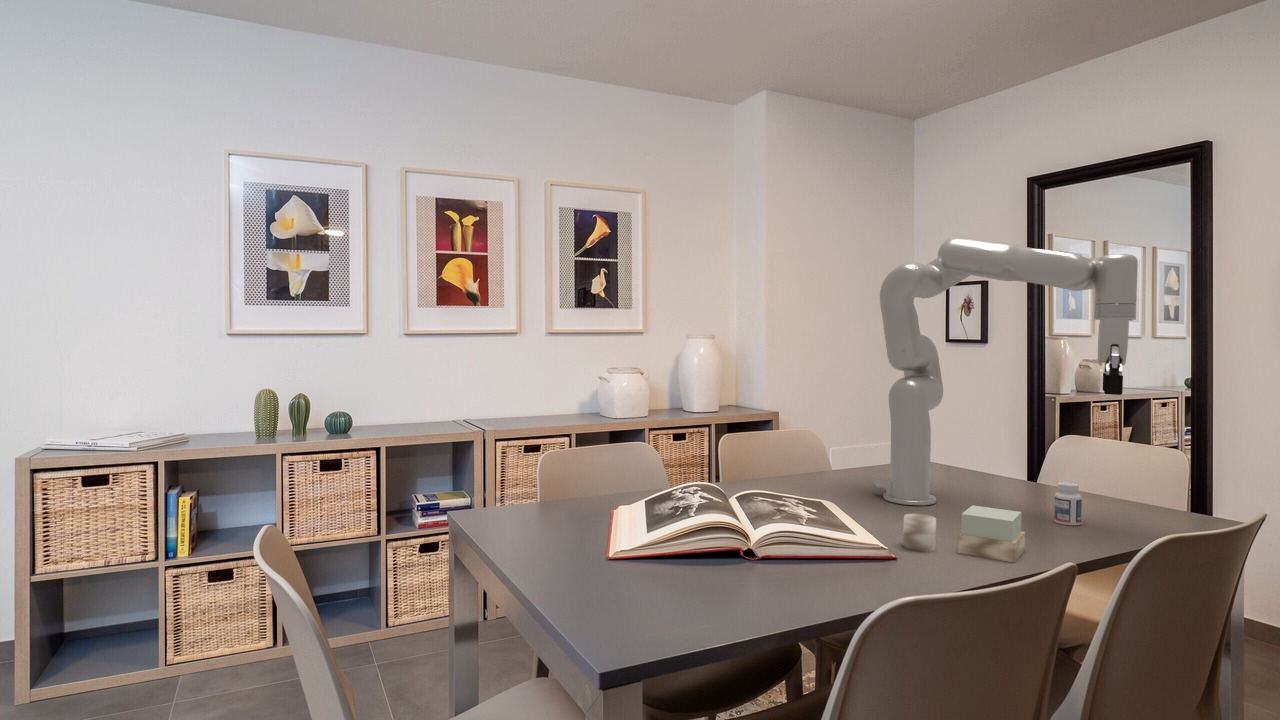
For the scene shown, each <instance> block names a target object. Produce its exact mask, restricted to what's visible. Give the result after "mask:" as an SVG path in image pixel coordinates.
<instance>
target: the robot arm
mask: <svg viewBox="0 0 1280 720" xmlns="http://www.w3.org/2000/svg"><path fill="white" fill-rule="evenodd" d="M1138 266H1139V264H1138V257H1136V256H1135V255H1133V254H1128V253H1127V254H1124V253H1123V254H1121V253H1119V254H1106V255H1101V256H1099V257H1096V258H1095V257H1084V256H1083V255H1079V254H1076V253H1070V252H1063V251H1062V252H1061V251H1056V250H1055V251H1054V250H1048V249H1042V248H1032V247H1027V246H1026V247H1025V246H1022V245H1019V244H1018V245H1017V244H1011V243H1004V242H996V241H990V240H982V239H975V238H967V237H960V236H957V237H950V238H948V239H946V240H945V241H943V243H942V244H941V245H940V246H939V248H938V251H937V257H936V258H935V259H933V260H932V261H930V262H928V263H927V264H923V263H919V262H907V263H906V262H905V263H903V264H900V265H899V266H897V267H895V268H893V269H892V270H891V271H890V272H889V273H888V274H887V275H886V277H885V278H884V279H883V282H882V284H881V287H880V291H879V305H880V312H881V316H882V325H883V335H884V340H885V341H884V342H885V347H886V356H887V360H888V362H889V364H890V366H891V367H893V368H894V369H896V370H898V371H901V372H903V377H901V378H899V379H897V380H896V381H895V382H893V384H892V386H891V388H890V390H889V392H888V393H889V394H888V408H889V414H890V416H889V417H890V468H889V469H890V471H889V473H890V474H889V476H890V478H889V479H887V480H886V481H883V480H880V479H875V480H874V482H873V486H874V488H875V489H879V490H884V491H885V492H884V493H883V494H882V495H883V497H882V498H883V499H884V500H885V501H888V502H891V503H893V504H898V505H905V506H906V505H908V506H929V505H930V506H931V505H934V504H936V503H937V497H936V496H935V495H933V494H931V493H930V492H931V491H930V488H931V487H930V486H931V485H930V484H931V455H932V454H931V447H932V446H931V443H932V440H931V439H932V437H931V435H932V428H931V420H930V419H931V417H930V413H929V412H930V411H932V410H934V409H935V408H937V407H938V406H939V405H940V403H941V402H942V400H943V396H944V387H943V386H944V385H943V379H942V378H943V377H942V372H941V367H940V366H941V365H940V364H941V363H940V358H939V354H938V353H939V352H938V350H937V346H936V345H935V343H934V342H933V340H932V339H931V338H929V337H928V336H926V335H923V334H922V333H921V331H920V330H921V329H920V325H919V324H920V323H919V317H918V313H917V309H916V307H915V304H914V302H915V301H914V300H915V298H917V299H918V298H919V299H930V298H933V297H935V296H938V295H940V294H942V293H943V292H945V291H947V290H949V289H950V288H952V287H954V286H955V285H957V284H959V283H960V282H962V281H963V280H964V281H965V279H967V278H969V277H971V276H974V277H980V278H985V279H991V280H997V281H1002V282H1022V283H1023V282H1025V283H1030V284H1036V285H1042V286H1047V287H1054V288H1059V289H1064V290H1069V291H1071V292H1073V291H1074V292H1081V291H1086V290H1094V307H1093V308H1094V312H1093V317H1094V318H1093V320H1094V321H1096V320H1097V321H1099V324H1098V337H1097V362H1096V363H1097V365H1099V366H1101V367H1102V366H1103V364H1104V367H1103V369H1104V370H1103V371H1104V372H1103V373H1102V391H1103V393H1104V395H1112V396H1113V395H1115V396H1121V395H1123V390H1124V389H1123V386H1124V385H1123V384H1124V375H1123V367H1124V366H1125V365H1126V362H1127V357H1128V356H1127V354H1128V348H1129V347H1128V346H1129V345H1128V344H1129V329H1130V327H1129V326H1130V321H1133V320H1134V321H1135V320H1137V294H1138V292H1137V291H1138V268H1139V267H1138Z"/></svg>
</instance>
